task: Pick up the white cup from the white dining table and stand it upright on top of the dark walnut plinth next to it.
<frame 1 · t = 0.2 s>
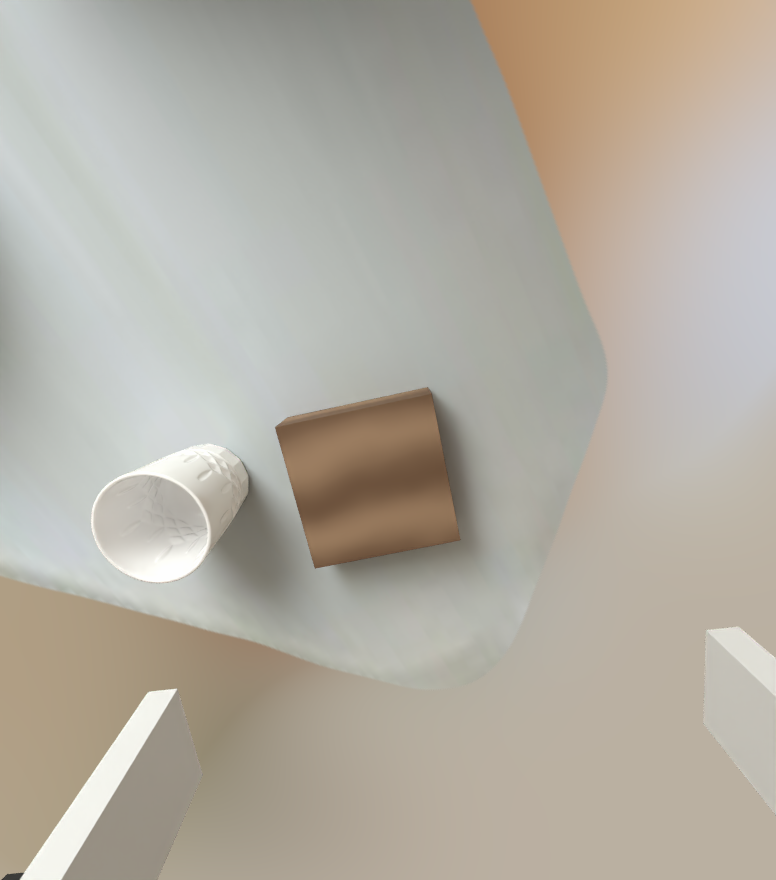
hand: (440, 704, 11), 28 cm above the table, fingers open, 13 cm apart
walnut plinth: (372, 470, 39), on the table
white cup: (212, 479, 39), on the table
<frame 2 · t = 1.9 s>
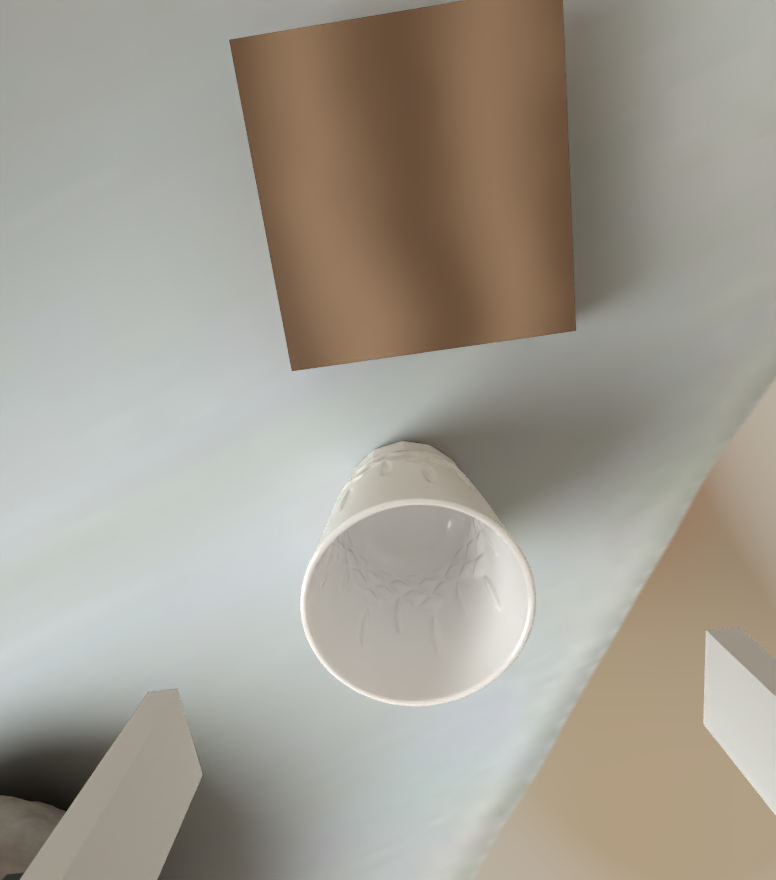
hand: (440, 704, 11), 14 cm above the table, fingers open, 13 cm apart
walnut plinth: (409, 220, 21), on the table
white cup: (405, 498, 25), on the table
clay pot: (30, 850, 31), on the table
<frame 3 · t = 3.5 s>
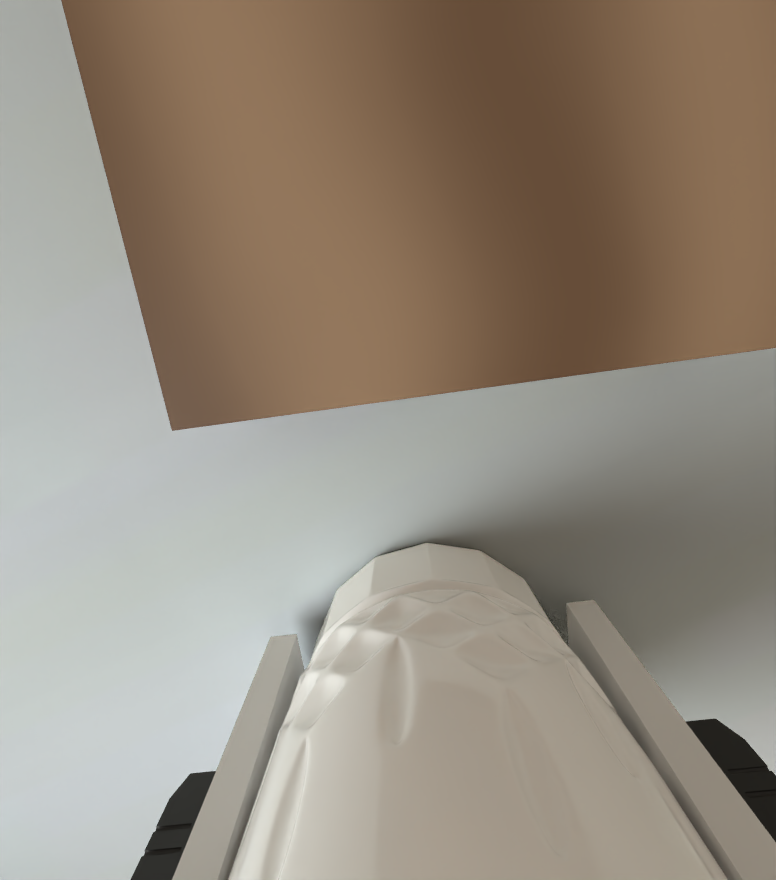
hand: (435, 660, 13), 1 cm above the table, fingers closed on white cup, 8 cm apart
walnut plinth: (449, 99, 10), on the table
white cup: (432, 639, 14), on the table, touching gripper
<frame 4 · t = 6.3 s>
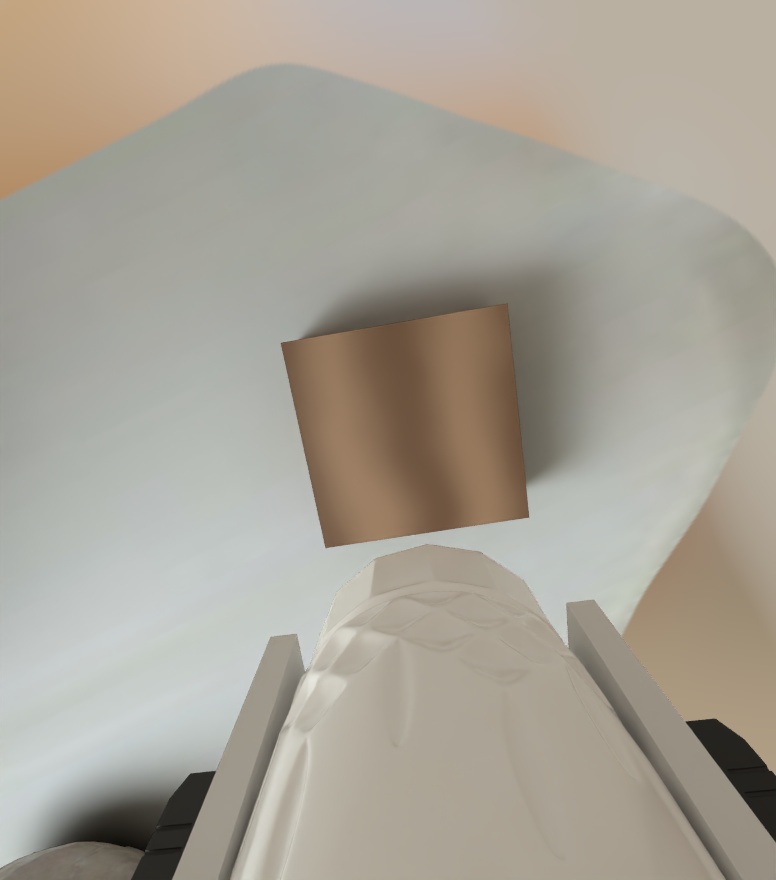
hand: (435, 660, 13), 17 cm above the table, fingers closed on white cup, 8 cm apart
walnut plinth: (407, 420, 29), on the table
white cup: (432, 640, 14), point 16 cm above the table, touching gripper
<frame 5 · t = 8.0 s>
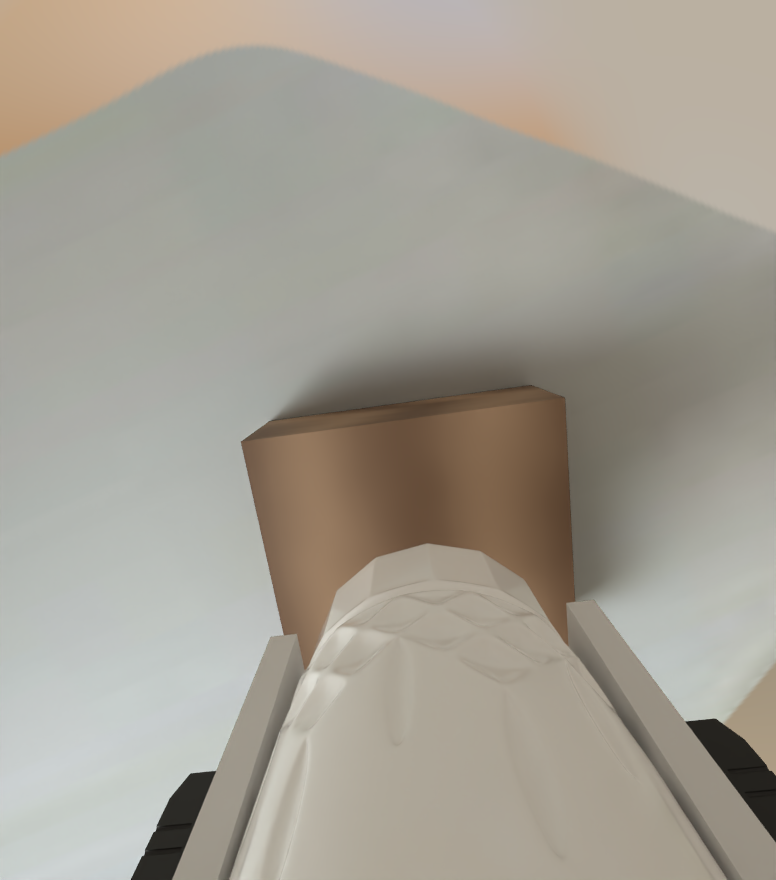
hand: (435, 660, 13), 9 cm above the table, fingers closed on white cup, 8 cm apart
walnut plinth: (415, 525, 22), on the table
white cup: (432, 640, 14), point 8 cm above the table, touching gripper
when the fingers open (7 cm above the table, at t = 9.3 s): white cup drops 2 cm, resting on walnut plinth.
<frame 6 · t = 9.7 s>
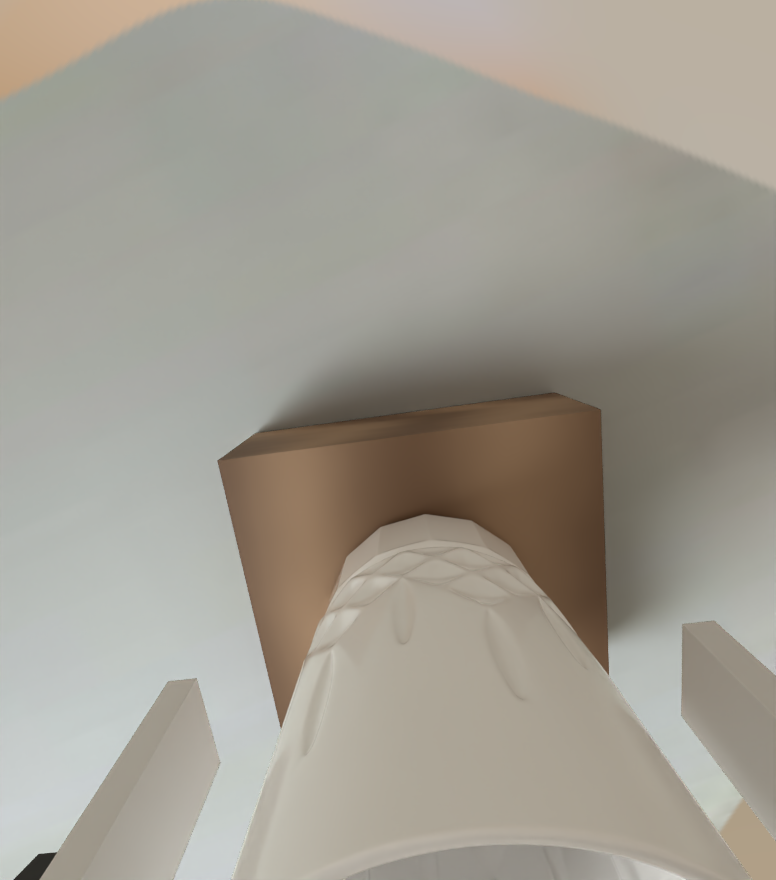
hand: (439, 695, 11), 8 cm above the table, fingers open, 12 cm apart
walnut plinth: (421, 550, 19), on the table
white cup: (430, 601, 15), point 4 cm above the table, touching walnut plinth
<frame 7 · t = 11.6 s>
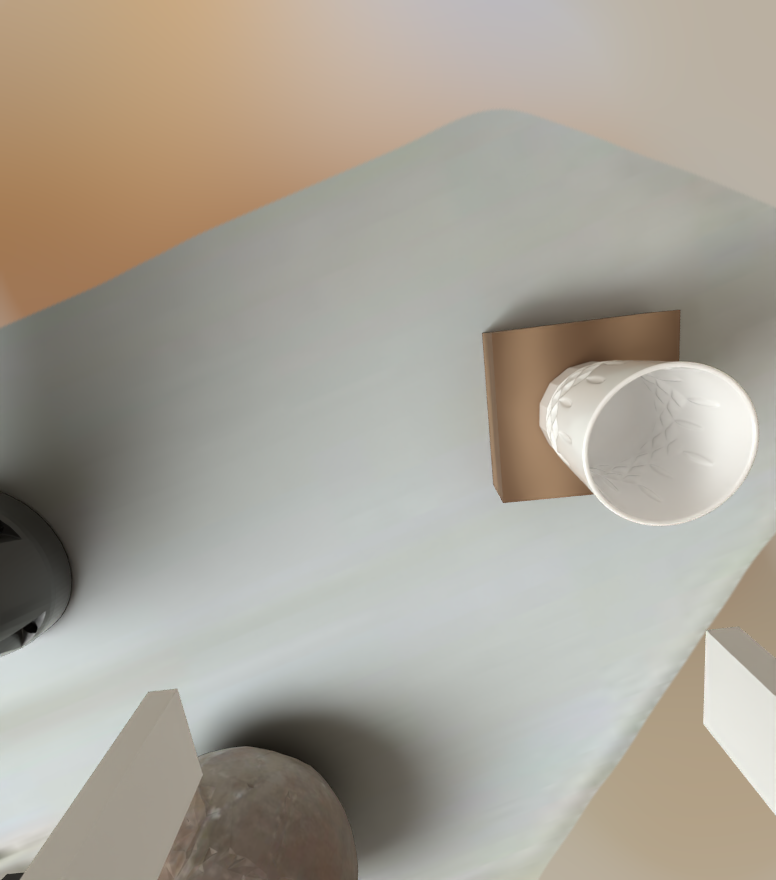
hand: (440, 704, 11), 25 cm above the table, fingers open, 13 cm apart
walnut plinth: (566, 403, 34), on the table
white cup: (586, 410, 31), point 4 cm above the table, touching walnut plinth
clay pot: (262, 790, 45), on the table
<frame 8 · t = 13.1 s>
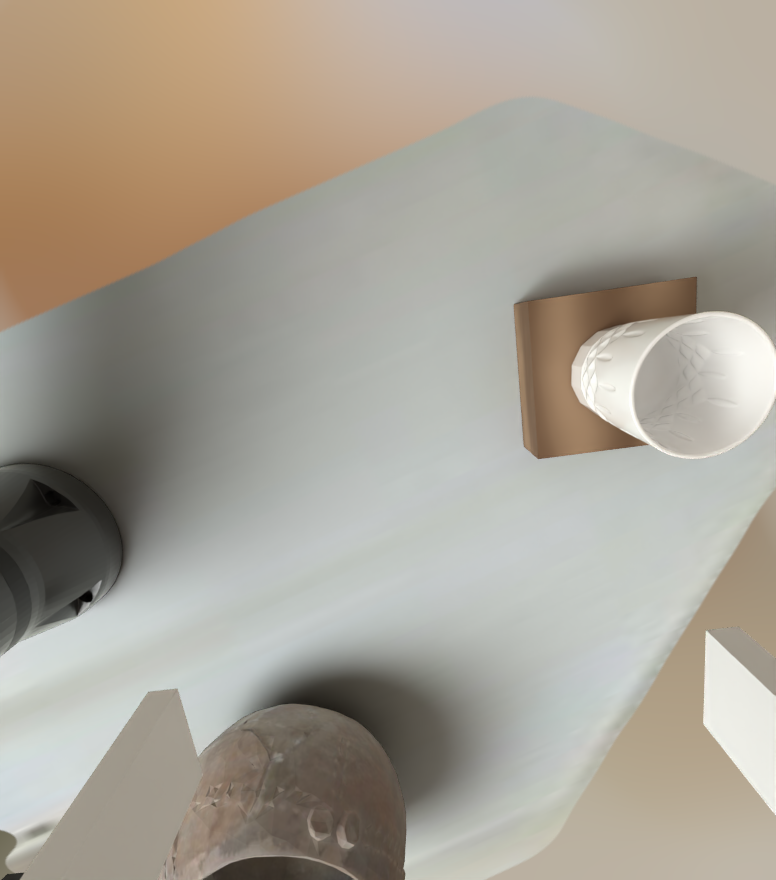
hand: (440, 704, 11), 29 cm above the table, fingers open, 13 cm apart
walnut plinth: (590, 368, 37), on the table
white cup: (613, 371, 34), point 4 cm above the table, touching walnut plinth
clay pot: (305, 749, 47), on the table
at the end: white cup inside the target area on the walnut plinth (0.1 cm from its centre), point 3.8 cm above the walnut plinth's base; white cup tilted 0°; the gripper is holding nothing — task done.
